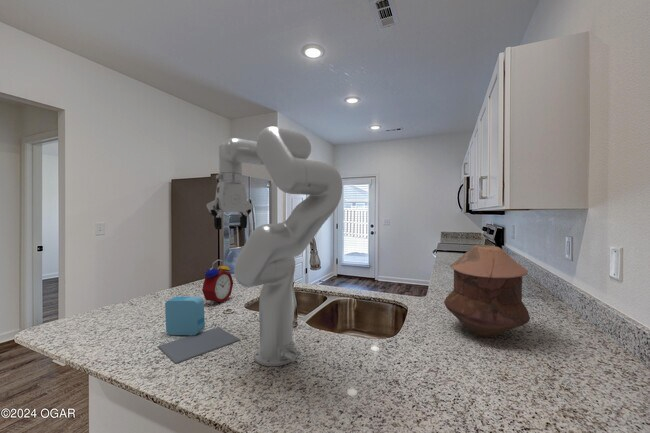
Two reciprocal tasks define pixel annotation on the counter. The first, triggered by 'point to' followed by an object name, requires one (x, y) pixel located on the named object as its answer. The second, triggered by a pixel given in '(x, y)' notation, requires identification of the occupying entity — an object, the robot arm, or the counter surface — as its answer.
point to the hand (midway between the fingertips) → (231, 228)
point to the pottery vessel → (487, 291)
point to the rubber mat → (197, 344)
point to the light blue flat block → (184, 315)
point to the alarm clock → (217, 284)
